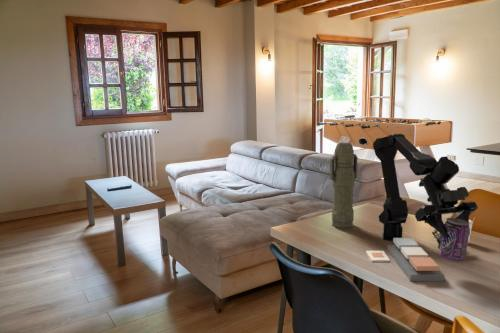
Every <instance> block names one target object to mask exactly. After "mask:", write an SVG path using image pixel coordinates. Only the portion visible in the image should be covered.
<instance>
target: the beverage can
mask: <svg viewBox="0 0 500 333" xmlns="http://www.w3.org/2000/svg"><path fill="white" fill-rule="evenodd" d="M444 223H445V224H444V225H445V227H446V230H447V233H448V236H449V237H448V238H445V237H444V236H443V235H442V239H441V245H440V249H439V252H438V255H439V256H440V257H442V259H445V260H447V261H449V262H453V263H460V262H462V261H463V262H464V261H465V259H466V254H467V249H468V248H467V247H468V244H467V243H468V238H469V232H470V228H469V222H467V221H465V220H462V219H457V218H456V217H448V218H446V221H445V222H444Z"/></svg>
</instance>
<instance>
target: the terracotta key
mask: <svg viewBox="0 0 500 333" xmlns="http://www.w3.org/2000/svg"><path fill="white" fill-rule="evenodd" d="M409 262H410V263H411V264H412V266H413V267H414V268H415V269H416V271H439V270H440V265H439V264H438V263H437V262H436V261H435V260H433V258H432V257H430V256H428V257H409Z"/></svg>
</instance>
